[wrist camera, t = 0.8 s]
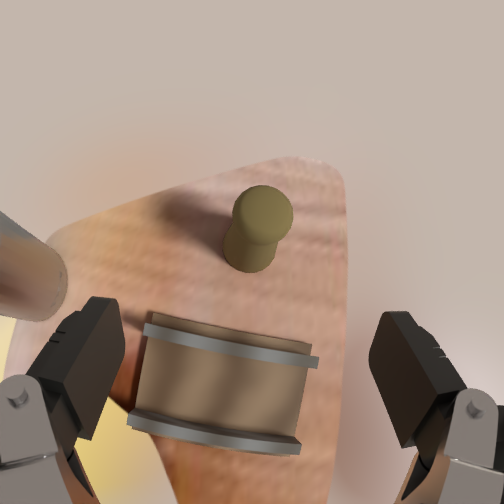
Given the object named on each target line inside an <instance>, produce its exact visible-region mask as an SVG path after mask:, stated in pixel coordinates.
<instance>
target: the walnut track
mask: <svg viewBox="0 0 504 504" xmlns="http://www.w3.org/2000/svg"><path fill="white" fill-rule="evenodd" d="M143 335H145V336H148V340H147V345H146V350H145V355H144V360H143V365H142V371H141V376H140V382H139V387H138V393H137V399H136V405H135V408H134V409H133V410H132V411H131V412H130V413H128V419H127V425H130V426H132V429H135V430H138V431H142V432H145V433H149V434H152V435H156V436H160V437H164V438H169V439H173V440H177V441H182V442H187V443H191V444H196V445H202V446H207V447H213V448H219V449H225V450H231V451H238V452H246V453H254V454H263V455H273V456H285V457H290V454H292V455H299V454H300V450H301V446H302V444H301V443H300V442H299V441H298V440H297V439H296V438H295V437H294V435H295V431H296V426H297V421H298V417H299V412H300V407H301V402H302V397H303V392H304V387H305V381H306V376H307V370H308V368H315V369H317V367H318V361H319V357H316V356H310V353H311V348H312V344H308V343H301V342H295V341H289V340H283V339H277V338H272V337H266V336H260V335H255V334H250V333H244V332H239V331H234V330H229V329H224V328H220V327H215V326H210V325H205V324H201V323H196V322H192V321H187V320H183V319H179V318H174V317H170V316H166V315H162V314H158V313H153V317H152V322H151V324H148V323H145V326H144V331H143Z"/></svg>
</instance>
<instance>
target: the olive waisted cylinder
mask: <svg viewBox="0 0 504 504" xmlns="http://www.w3.org/2000/svg"><path fill="white" fill-rule="evenodd" d="M232 220H233V223H232V225H231V226H230V228H229V230H228V231H227V233H226V234H225V237H224V240H223V253H224V255H225V258H226V260H227V261H228V262H229V264H230V265H231V266H233V267H234V268H235V269H237V270H239V271H242V272H245V273H255V272H258V271H261V270H263V269H265V268H266V267H267V266H269V265H270V263H271V262H272V260H273V259H274V256H275V252H276V248H277V244H278V241H280V240H281V239H282V238H284V237H285V236H286V234H287V233H288V231H289V230H290V228H291V226H292V222H293V208H292V206H291V203H290V201H289V199H288V198H287V197H286V196H285V195H284V194H283V193H282V192H281V191H279V190H278V189H276V188H273V187H270V186H264V185H258V186H254V187H250V188H249V189H247V190H245V191H244V192H242V193H241V195H240V196H239V197H238V198H237V200H236V201H235V204H234V207H233V211H232Z"/></svg>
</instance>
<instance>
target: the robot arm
mask: <svg viewBox="0 0 504 504" xmlns="http://www.w3.org/2000/svg"><path fill="white" fill-rule="evenodd" d="M66 290H67V272H66V267H65V265H64V262H63V260H62V259H61V257H60V256H59V254H58V253H56V252H55V251H54V250H53V249H52V248H50V247H49V246H47V245H46V244H44V243H43V242H41V241H40V240H39V239H37V238H36V237H35V236H33V235H32V234H30V233H29V232H27V231H26V230H25V229H23V228H22V227H21V226H20V225H18V224H17V223H15V222H14V221H13V220H11V219H10V218H9V217H7V216H6V215H5V214H4V213H2V212H1V211H0V315H2V316H8V317H12V318H16V319H21V320H27V321H33V322H38V321H43V320H46V319H48V318H50V317H51V316H52V315H53V314H55V312H56V311H57V310H58V309H59V308H60V306H61V304H62V302H63V300H64V297H65V294H66ZM124 354H125V338H124V333H123V327H122V322H121V317H120V311H119V305H118V302H117V300H116V299H113V298H104V297H94V296H93V297H91V298H90V299H89V300H88V302H87V303H86V304H85V306H84V307H83V309H82V310H81V311H75V312H73V313H72V314H71V315H69V316H68V317H66V318H65V319H63V321H62V322H61V323H60V325H59V326H58V328H57V329H56V332H55V333H53V335H52V336H51V337H50V339H49V342H47V343H46V345H45V346H44V347H43V349H42V350H41V352H40V353H39V355H38V356H37V358H36V359H35V361H34V362H33V364H32V365H31V367H30V368H29V370H28V371H27V373H26V374H25V375H14V376H11V377H9V378H6V379H5V380H3V381H2V382H1V383H0V504H100V502H99V500H98V498H97V497H96V495H95V492H94V490H93V488H92V486H91V484H90V482H89V480H88V477H87V475H86V473H85V471H84V468H83V466H82V464H81V461H80V459H79V456H78V454H77V451H76V449H75V448H74V445H75V442H76V440H77V437H79V438H83V439H87V440H90V441H91V440H92V437H93V434H94V431H95V429H96V426H97V423H98V421H99V418H100V415H101V413H102V410H103V408H104V405H105V402H106V400H107V397H108V395H109V392H110V390H111V387H112V385H113V382H114V380H115V377H116V375H117V372H118V370H119V368H120V365H121V363H122V361H123V358H124ZM369 367H370V370H371V372H372V375H373V377H374V380H375V382H376V384H377V387H378V389H379V392H380V394H381V397H382V399H383V402H384V404H385V407H386V409H387V412H388V414H389V417H390V419H391V422H392V424H393V427H394V430H395V432H396V435H397V437H398V440H399V443H400V445H401V448H407V447H412V446H416V447H417V449H418V452H417V453H416V454H415V456H414V458H413V460H412V463H411V465H410V468H409V471H408V473H407V476H406V478H405V480H404V483H403V485H402V487H401V490H400V492H399V494H398V496H397V498H396V501H395V503H394V504H504V406H501V405H496V403H495V402H494V400H493V399H492V398H491V397H490V396H489V395H488V394H487V393H485V392H483V391H481V390H478V389H471V388H470V389H468V388H467V387H466V385H465V383H464V382H463V380H462V379H461V377H460V376H459V374H458V373H457V371H456V369H455V368H454V366H453V365H452V363H451V362H450V360H449V359H448V358H446V355H445V353H444V351H443V350H442V349H440V346H439V344H438V343H437V342H436V340H435V338H434V337H433V336H432V335H431V334H430V333H428V332H427V331H426V330H425V329H423V328H422V327H421V326H418V325H417V323H416V322H415V321H414V319H413V318H412V316H411V315H410V314H409V312H407V311H389V312H384V313H383V314H382V316H381V318H380V321H379V325H378V327H377V330H376V333H375V336H374V339H373V342H372V345H371V348H370V351H369Z"/></svg>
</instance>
